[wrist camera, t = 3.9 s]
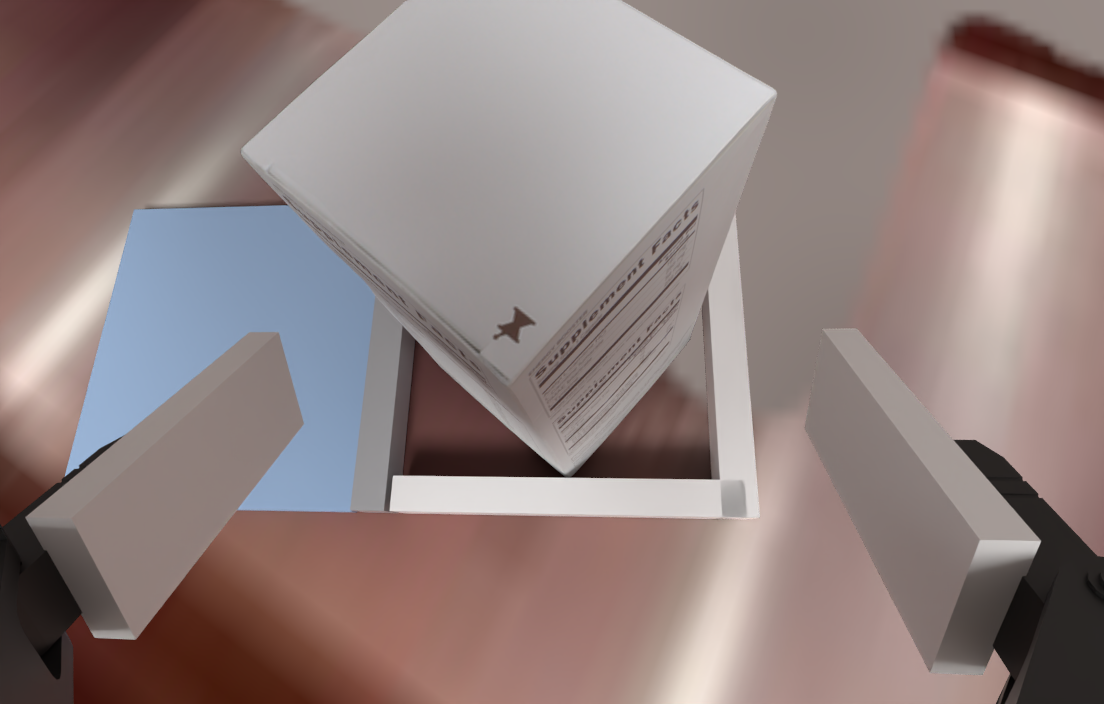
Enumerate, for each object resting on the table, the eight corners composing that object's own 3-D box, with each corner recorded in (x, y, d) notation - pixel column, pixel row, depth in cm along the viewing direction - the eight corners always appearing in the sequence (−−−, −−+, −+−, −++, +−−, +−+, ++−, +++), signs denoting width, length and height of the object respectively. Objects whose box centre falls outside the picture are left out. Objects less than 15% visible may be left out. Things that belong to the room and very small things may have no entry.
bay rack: (141, 215, 34) (114, 195, 32) (725, 199, 31) (732, 177, 29) (67, 507, 29) (30, 504, 27) (748, 519, 26) (759, 517, 25)
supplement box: (695, 338, 29) (804, 90, 13) (570, 484, 28) (520, 404, 12) (548, 227, 32) (490, -94, 16) (425, 356, 30) (221, 143, 14)
